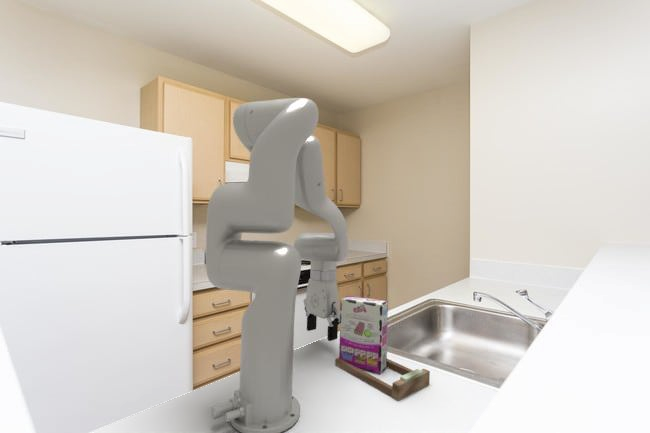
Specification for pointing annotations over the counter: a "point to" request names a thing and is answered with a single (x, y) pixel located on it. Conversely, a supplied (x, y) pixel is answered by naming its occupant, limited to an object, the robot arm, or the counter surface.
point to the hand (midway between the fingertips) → (321, 334)
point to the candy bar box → (364, 333)
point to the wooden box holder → (400, 388)
